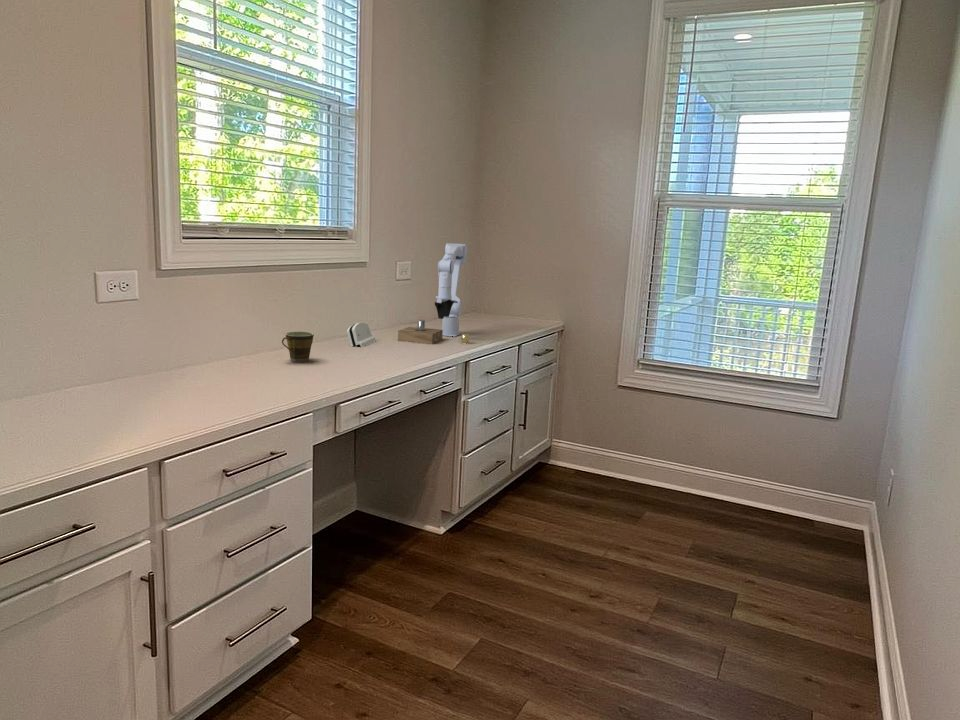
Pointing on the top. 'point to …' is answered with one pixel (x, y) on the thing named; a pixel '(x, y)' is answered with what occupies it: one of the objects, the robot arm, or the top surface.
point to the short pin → (465, 338)
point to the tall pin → (421, 325)
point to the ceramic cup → (299, 345)
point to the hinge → (360, 335)
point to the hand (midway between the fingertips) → (443, 317)
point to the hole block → (420, 335)
